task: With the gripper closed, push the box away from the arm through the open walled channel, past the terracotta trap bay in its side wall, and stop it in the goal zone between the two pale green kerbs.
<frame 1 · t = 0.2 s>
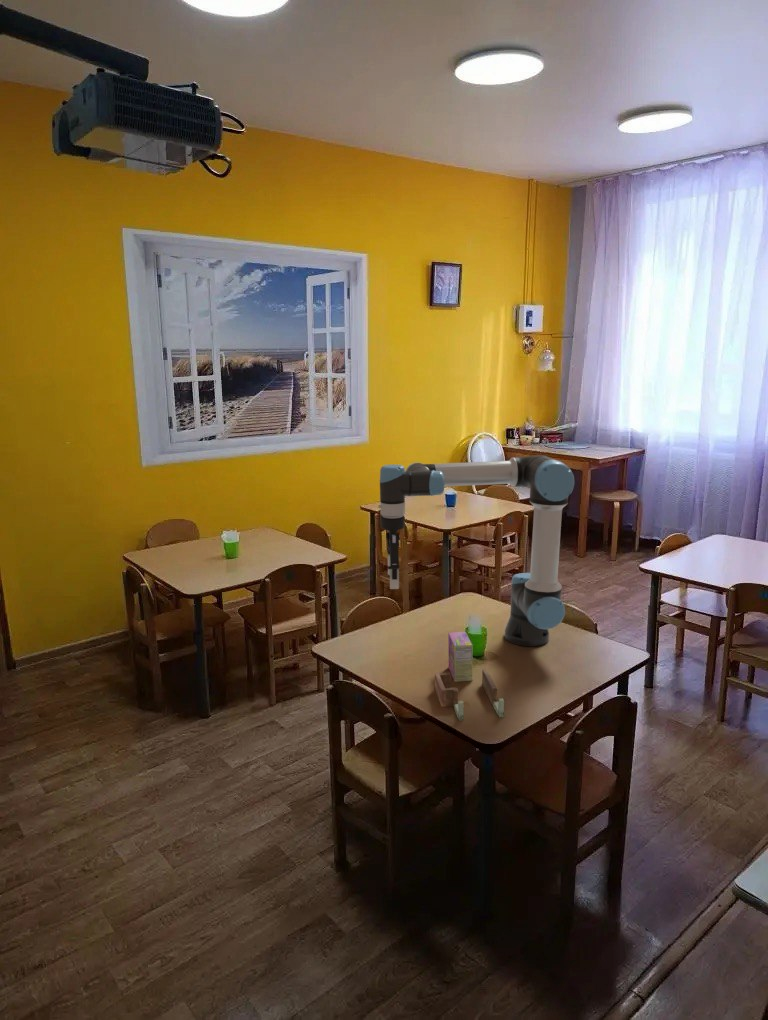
hand: (393, 581, 215), 27 cm above the table, fingers open, 13 cm apart
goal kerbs: (478, 713, 190), on the table
open walled channel: (470, 695, 200), on the table
box: (459, 674, 213), on the table
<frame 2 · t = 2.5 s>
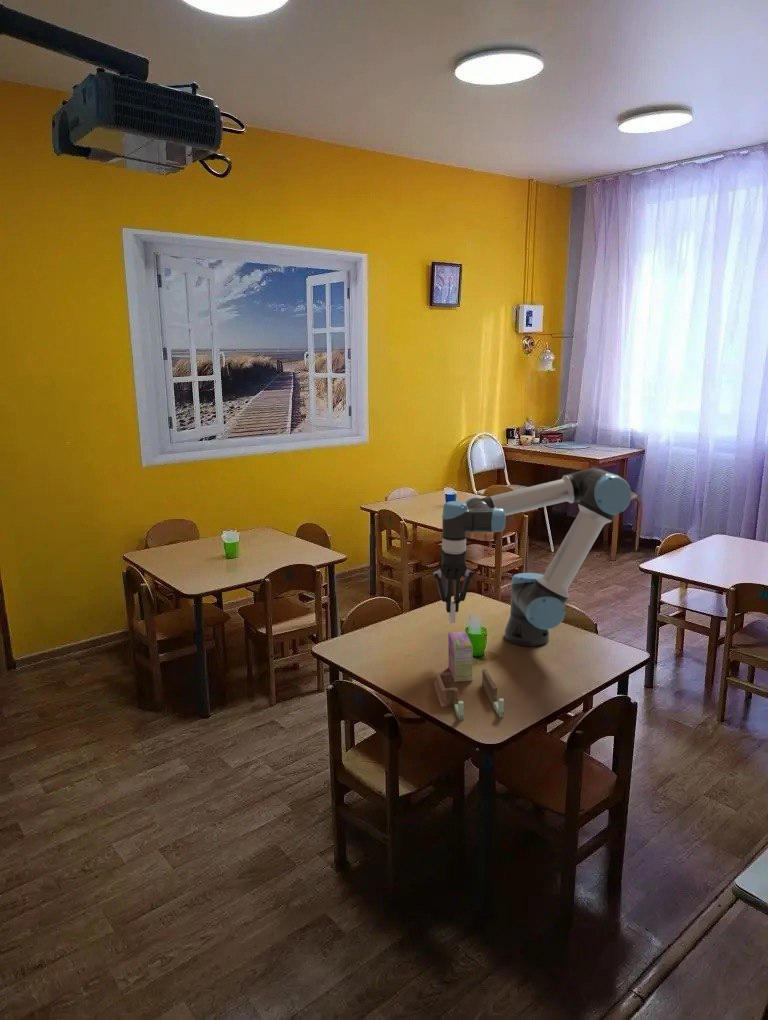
hand: (451, 621, 221), 13 cm above the table, fingers closed
nothing on the table moved.
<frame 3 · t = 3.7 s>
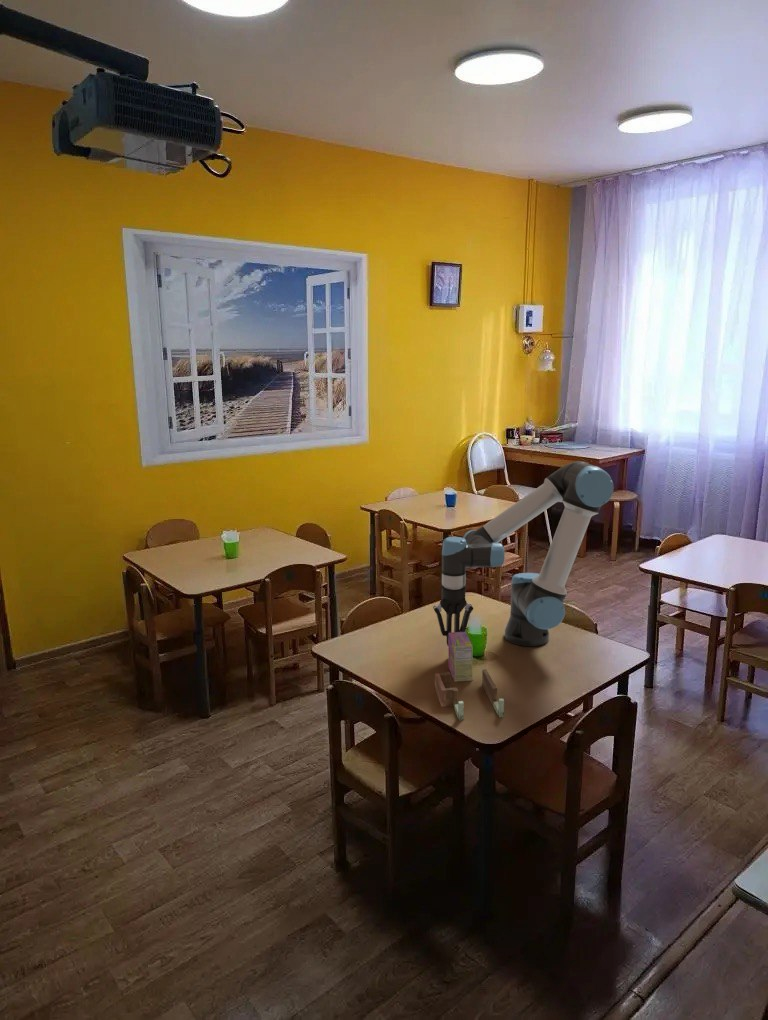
hand: (452, 654, 223), 1 cm above the table, fingers closed
nothing on the table moved.
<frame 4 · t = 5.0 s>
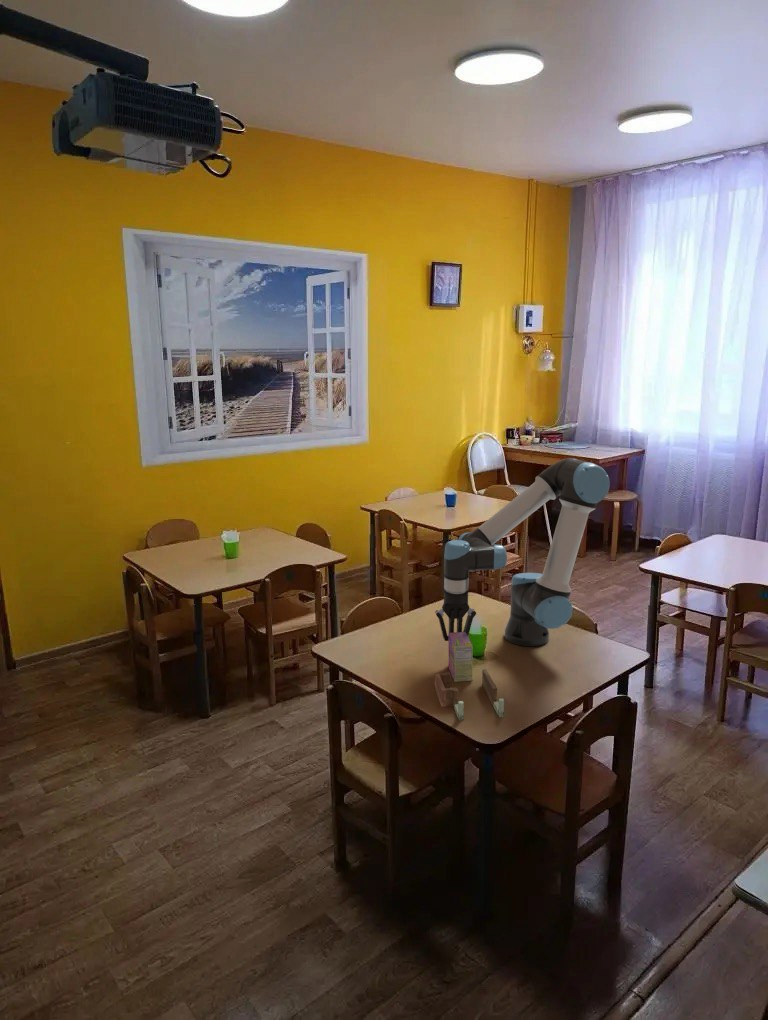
hand: (454, 660, 219), 2 cm above the table, fingers closed
box: (459, 674, 213), on the table, touching gripper
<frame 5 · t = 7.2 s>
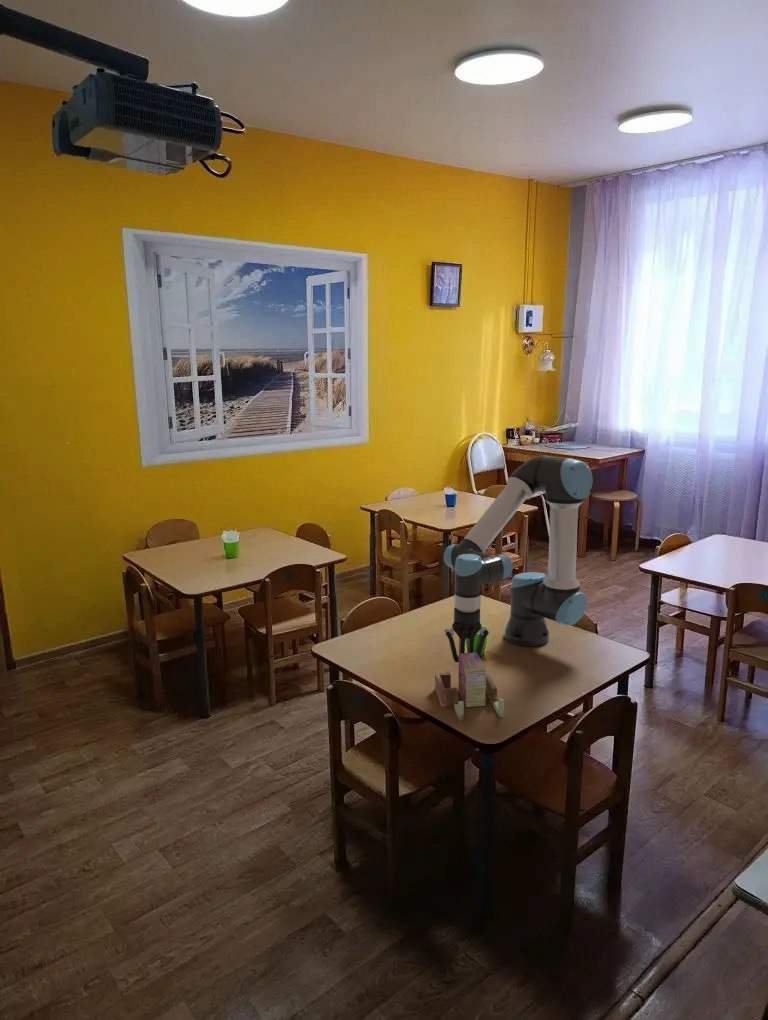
hand: (465, 682, 204), 2 cm above the table, fingers closed
box: (471, 698, 198), on the table, touching gripper
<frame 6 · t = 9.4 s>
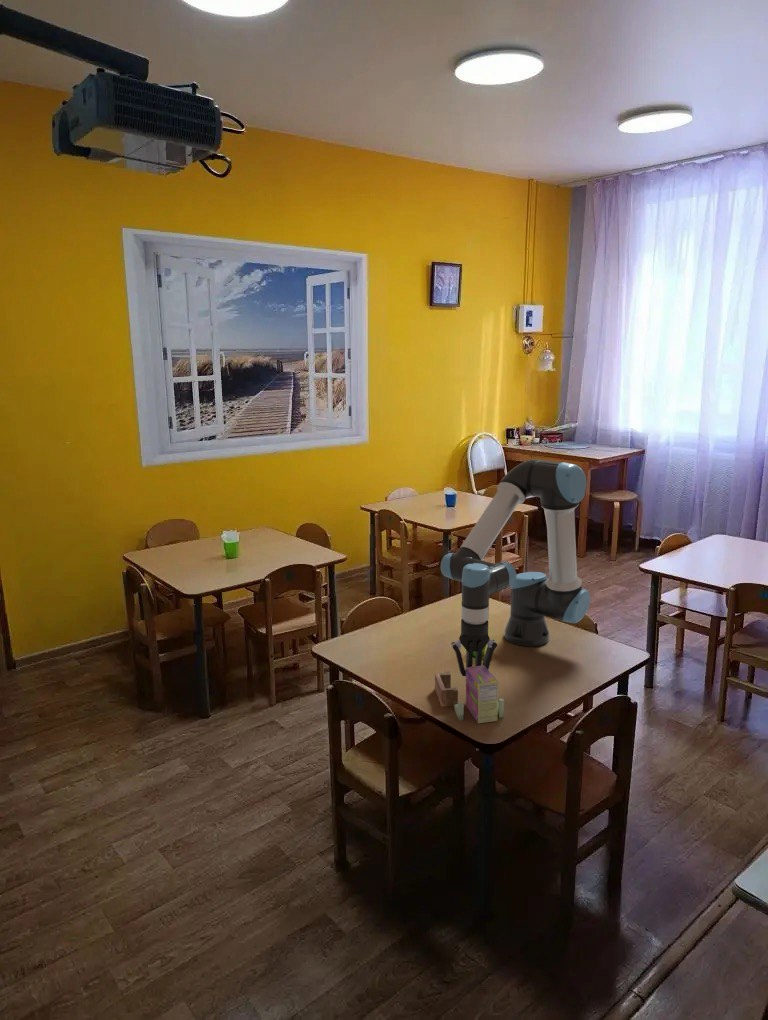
hand: (473, 696, 196), 1 cm above the table, fingers closed
box: (480, 714, 190), on the table, touching gripper
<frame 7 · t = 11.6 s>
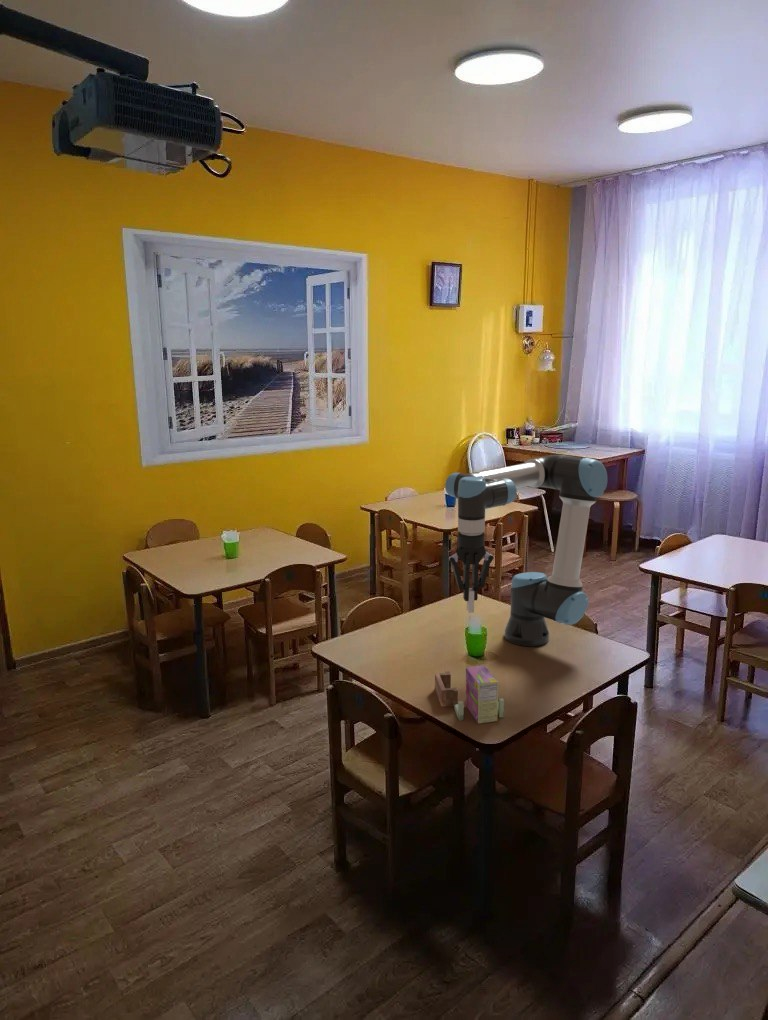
hand: (470, 610, 198), 24 cm above the table, fingers closed
box: (480, 714, 190), on the table
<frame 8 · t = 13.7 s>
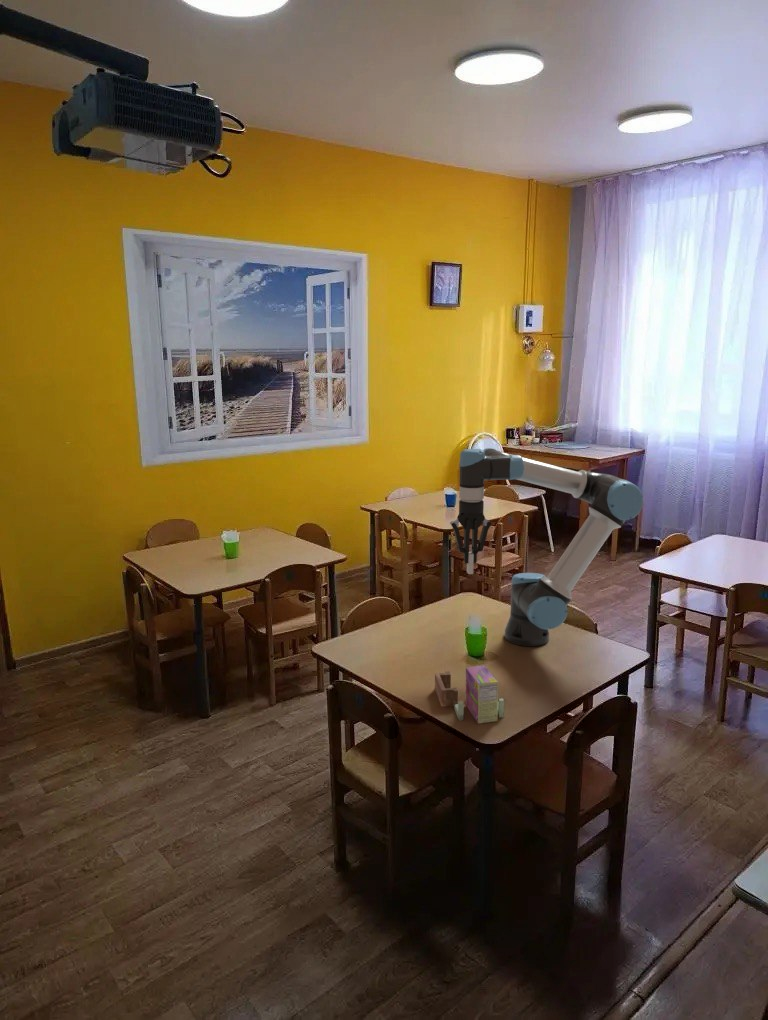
hand: (469, 572, 217), 29 cm above the table, fingers closed
nothing on the table moved.
at the end: box inside the target area (0.8 cm from its centre), on the table; box tilted 0°; box moved 24.2 cm from its start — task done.
